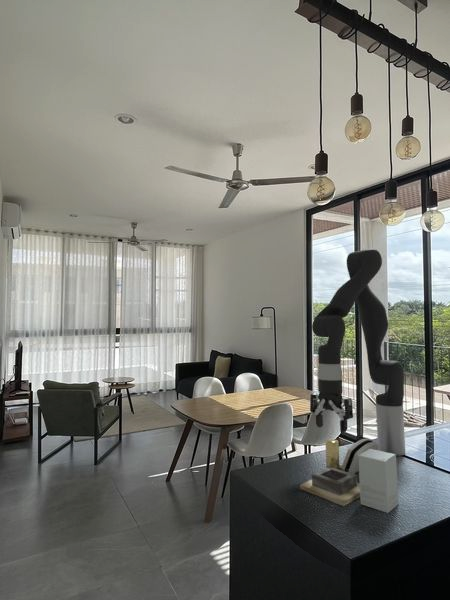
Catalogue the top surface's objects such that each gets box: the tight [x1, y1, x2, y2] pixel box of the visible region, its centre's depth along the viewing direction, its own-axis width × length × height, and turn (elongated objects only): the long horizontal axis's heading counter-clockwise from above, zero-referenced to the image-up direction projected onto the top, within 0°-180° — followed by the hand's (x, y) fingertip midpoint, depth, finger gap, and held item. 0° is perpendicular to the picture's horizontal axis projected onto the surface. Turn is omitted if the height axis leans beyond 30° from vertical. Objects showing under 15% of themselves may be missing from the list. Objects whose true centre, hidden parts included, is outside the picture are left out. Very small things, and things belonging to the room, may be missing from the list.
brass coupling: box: [325, 438, 340, 470], centre depth 117 cm, size 4×4×10 cm
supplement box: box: [358, 449, 400, 514], centre depth 97 cm, size 7×7×13 cm
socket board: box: [299, 467, 360, 507], centre depth 105 cm, size 13×14×4 cm
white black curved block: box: [339, 438, 379, 475], centre depth 122 cm, size 17×5×10 cm, turn 133°
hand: (331, 429), depth 118 cm, fingers open, 8 cm apart
